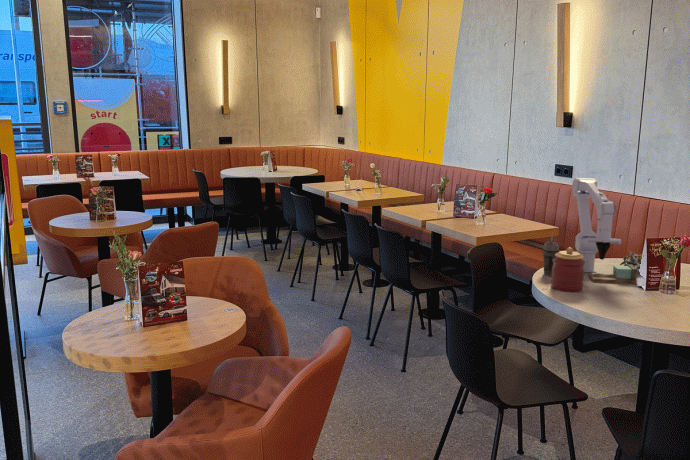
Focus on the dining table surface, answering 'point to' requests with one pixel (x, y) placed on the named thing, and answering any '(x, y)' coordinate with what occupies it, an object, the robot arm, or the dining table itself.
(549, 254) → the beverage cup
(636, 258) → the passion flower
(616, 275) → the keeper
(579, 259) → the canister
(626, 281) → the rail board
